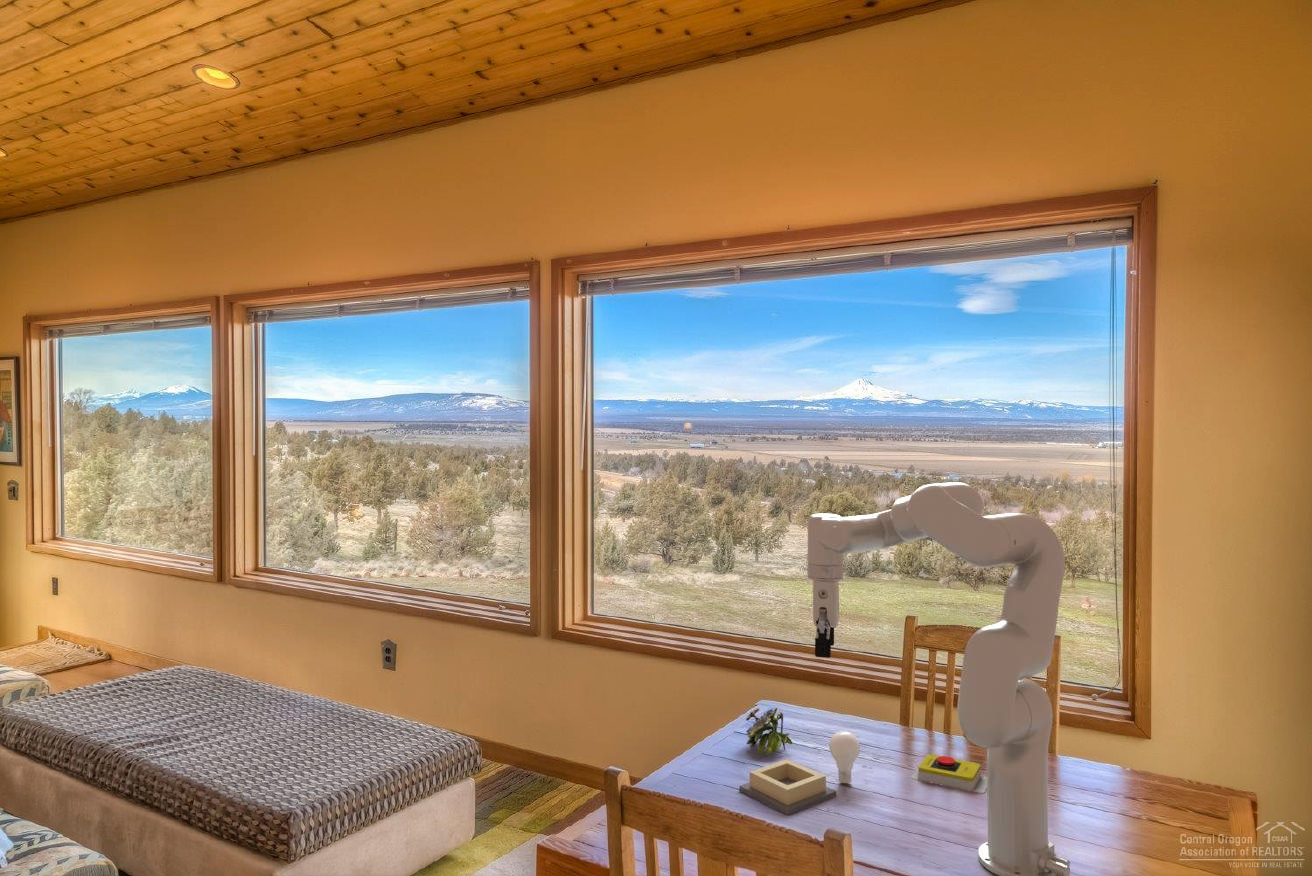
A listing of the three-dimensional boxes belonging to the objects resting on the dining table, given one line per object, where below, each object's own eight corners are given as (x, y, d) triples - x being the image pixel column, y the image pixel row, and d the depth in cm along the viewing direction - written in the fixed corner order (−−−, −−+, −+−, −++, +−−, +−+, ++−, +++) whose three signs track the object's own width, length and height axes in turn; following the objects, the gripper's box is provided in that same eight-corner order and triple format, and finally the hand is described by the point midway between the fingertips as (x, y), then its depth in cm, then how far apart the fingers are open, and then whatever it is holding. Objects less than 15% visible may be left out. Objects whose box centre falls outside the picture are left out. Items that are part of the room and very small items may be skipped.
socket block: (836, 796, 169) (836, 776, 169) (787, 815, 161) (787, 794, 161) (787, 773, 180) (787, 755, 180) (739, 790, 172) (739, 771, 172)
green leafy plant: (754, 768, 197) (751, 717, 204) (799, 764, 194) (794, 713, 201) (742, 756, 188) (739, 703, 195) (789, 751, 185) (784, 698, 192)
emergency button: (921, 746, 185) (992, 760, 177) (921, 766, 185) (992, 780, 177) (909, 760, 177) (983, 775, 169) (910, 781, 177) (984, 796, 169)
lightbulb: (825, 786, 173) (825, 734, 173) (834, 775, 179) (833, 724, 179) (856, 792, 171) (855, 739, 171) (863, 780, 176) (863, 729, 176)
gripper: (840, 579, 168) (840, 663, 168) (845, 565, 184) (844, 642, 185) (803, 577, 170) (802, 660, 170) (811, 564, 186) (811, 639, 187)
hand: (824, 650), depth 177 cm, fingers open, 9 cm apart
